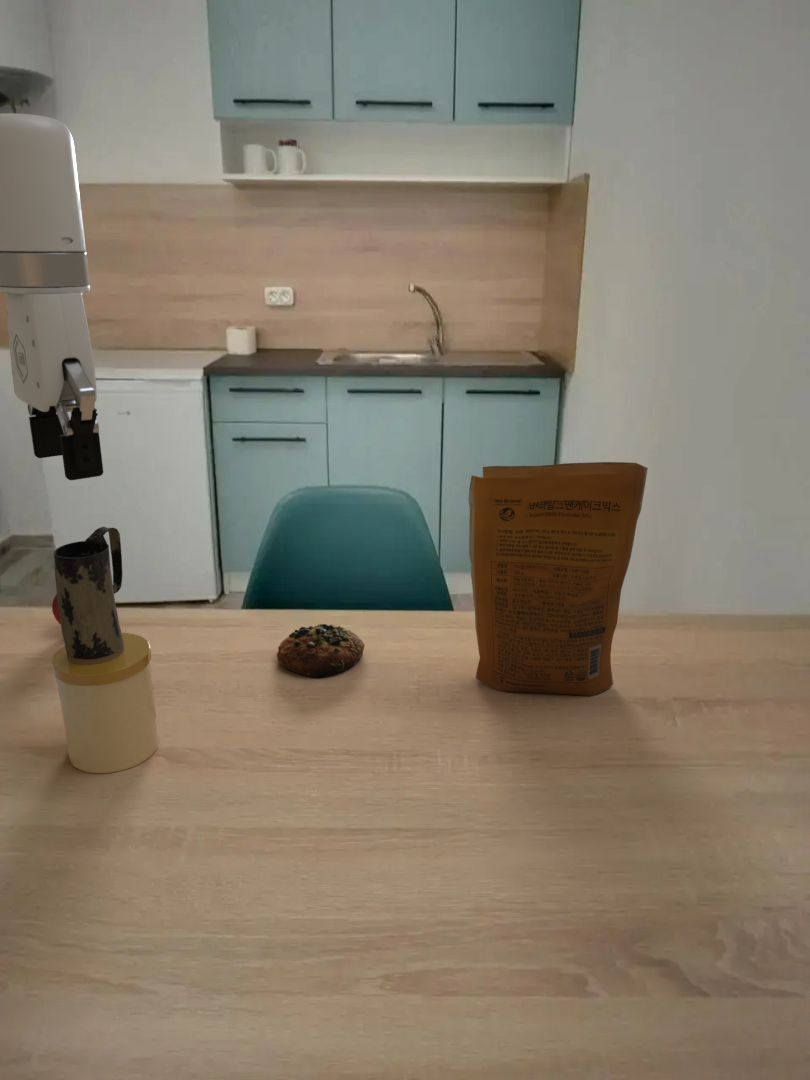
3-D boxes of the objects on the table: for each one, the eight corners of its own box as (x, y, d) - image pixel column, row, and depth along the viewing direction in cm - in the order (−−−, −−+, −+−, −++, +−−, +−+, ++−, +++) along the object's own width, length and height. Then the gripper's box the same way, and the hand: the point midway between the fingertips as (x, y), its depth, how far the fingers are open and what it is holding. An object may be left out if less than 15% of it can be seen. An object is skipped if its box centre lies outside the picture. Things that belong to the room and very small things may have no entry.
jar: (55, 743, 88) (39, 648, 84) (141, 714, 93) (130, 624, 90) (84, 786, 81) (68, 685, 77) (175, 752, 86) (164, 656, 83)
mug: (100, 669, 80) (83, 552, 76) (53, 660, 82) (35, 546, 78) (149, 634, 87) (136, 526, 83) (105, 627, 89) (90, 521, 85)
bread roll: (297, 685, 99) (294, 645, 98) (264, 659, 108) (262, 623, 107) (379, 666, 104) (377, 628, 103) (341, 644, 114) (339, 608, 113)
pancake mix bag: (630, 706, 95) (654, 468, 86) (463, 697, 97) (469, 464, 87) (622, 677, 101) (643, 453, 92) (465, 670, 103) (470, 449, 94)
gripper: (-27, 271, 76) (2, 453, 82) (23, 279, 63) (53, 494, 69) (57, 270, 80) (79, 443, 86) (121, 277, 68) (141, 480, 73)
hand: (67, 466), depth 78 cm, fingers open, 9 cm apart
